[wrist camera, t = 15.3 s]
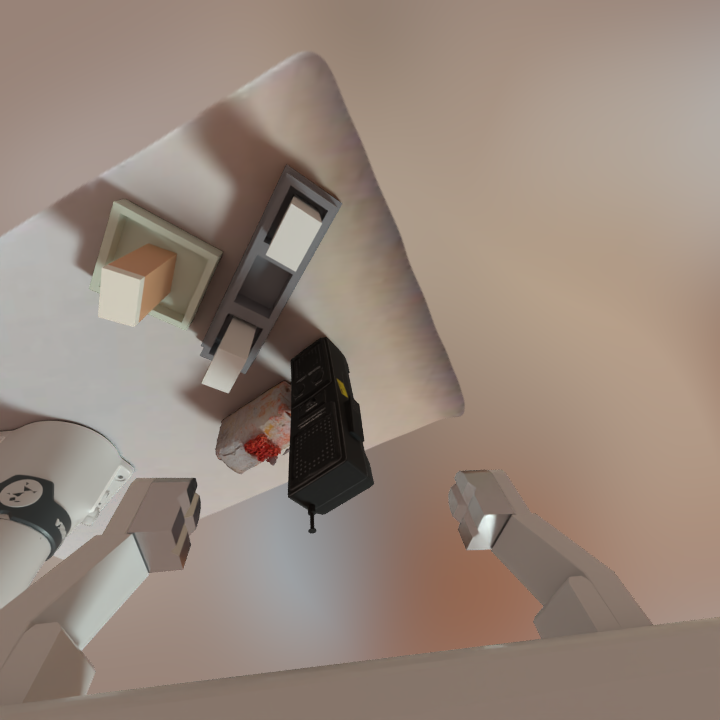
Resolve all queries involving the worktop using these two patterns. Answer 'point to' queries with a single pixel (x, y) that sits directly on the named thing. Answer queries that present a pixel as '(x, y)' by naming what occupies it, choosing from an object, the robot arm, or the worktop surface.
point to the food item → (257, 430)
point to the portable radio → (325, 432)
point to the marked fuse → (135, 284)
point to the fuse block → (266, 276)
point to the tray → (142, 227)
